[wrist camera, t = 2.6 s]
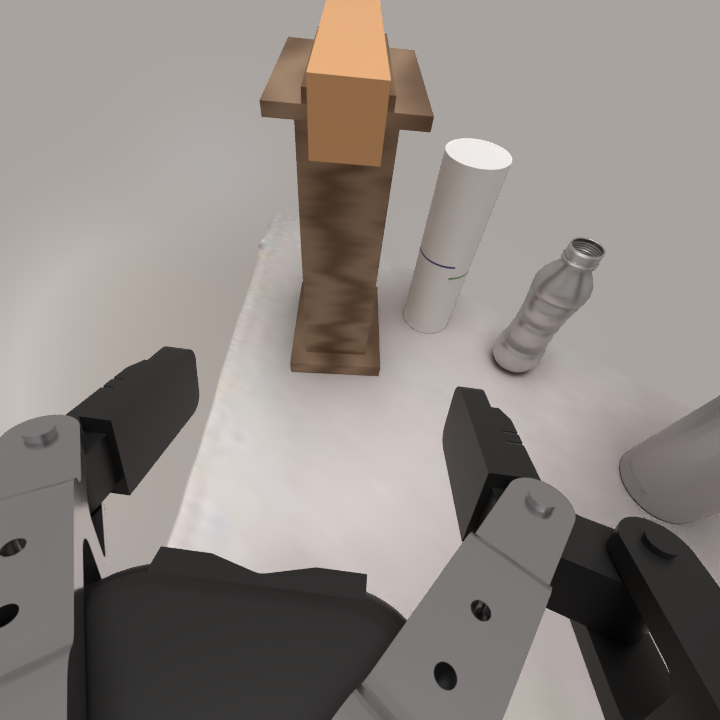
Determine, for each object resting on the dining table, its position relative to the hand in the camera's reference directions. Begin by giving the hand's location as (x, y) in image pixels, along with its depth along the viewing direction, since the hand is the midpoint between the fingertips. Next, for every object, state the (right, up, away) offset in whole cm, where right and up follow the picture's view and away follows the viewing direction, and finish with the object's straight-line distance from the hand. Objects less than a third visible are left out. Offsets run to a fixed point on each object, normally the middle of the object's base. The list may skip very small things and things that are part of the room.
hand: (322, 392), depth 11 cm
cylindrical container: (+12, +8, +48) cm, 50 cm away
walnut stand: (-2, +6, +44) cm, 45 cm away
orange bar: (0, +20, +15) cm, 25 cm away
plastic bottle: (+24, +1, +44) cm, 50 cm away
